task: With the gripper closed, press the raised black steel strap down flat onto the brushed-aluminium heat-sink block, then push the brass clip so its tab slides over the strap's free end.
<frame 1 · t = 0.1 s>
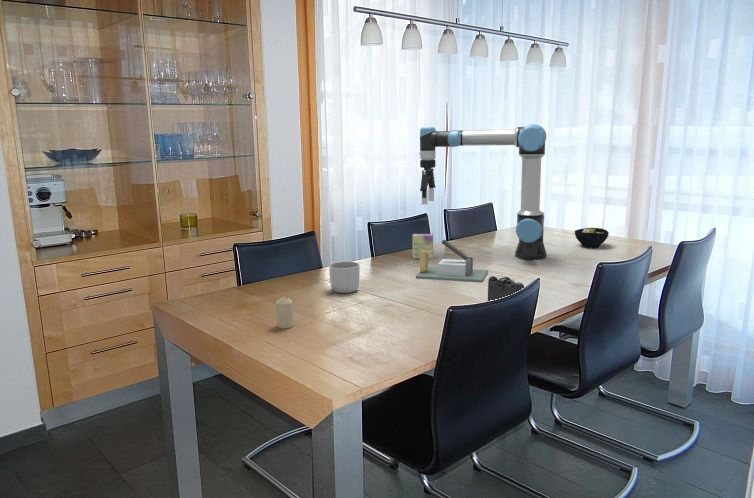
hand: (427, 202, 290), 28 cm above the table, fingers open, 13 cm apart
clip: (427, 261, 263), point 6 cm above the table, slide at 0.0 cm
sink base: (452, 275, 260), on the table
strap: (456, 251, 258), point 11 cm above the table, hinge at 35.0°
candle: (285, 326, 198), on the table
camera: (509, 303, 219), on the table
planter: (345, 291, 240), on the table
box: (423, 257, 297), on the table
bowl: (590, 247, 313), on the table
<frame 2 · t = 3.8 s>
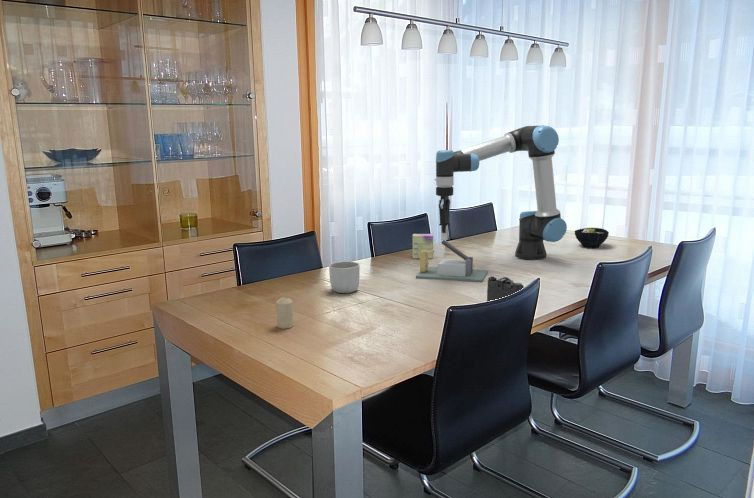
hand: (444, 239, 258), 16 cm above the table, fingers closed
strap: (456, 251, 258), point 11 cm above the table, hinge at 34.3°, touching gripper
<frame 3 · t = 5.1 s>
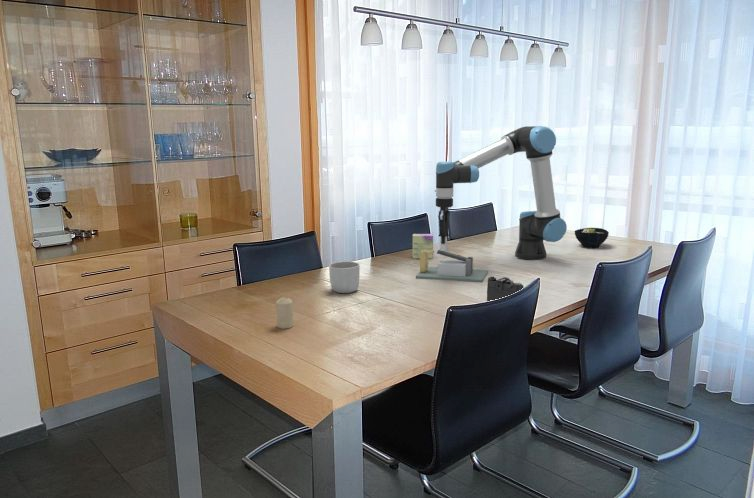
hand: (443, 250, 259), 11 cm above the table, fingers closed
strap: (454, 256, 258), point 9 cm above the table, hinge at 13.8°, touching gripper
everything else where it was.
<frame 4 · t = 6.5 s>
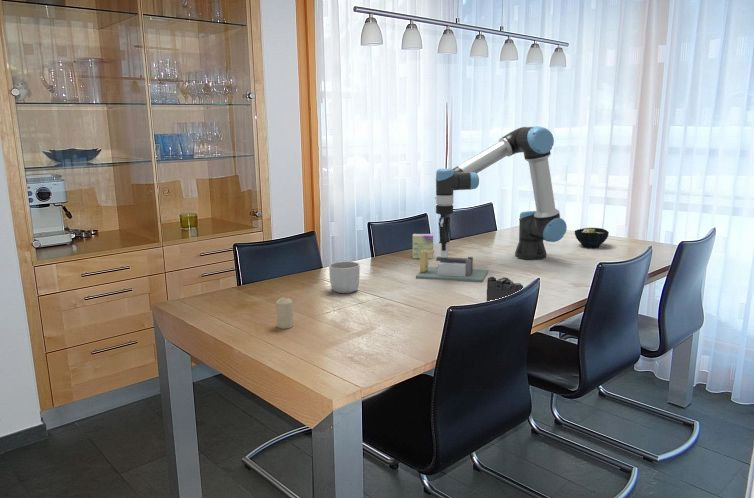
hand: (444, 257, 260), 8 cm above the table, fingers closed
strap: (453, 259, 259), point 7 cm above the table, hinge at 0.8°, touching gripper
everything else where it was.
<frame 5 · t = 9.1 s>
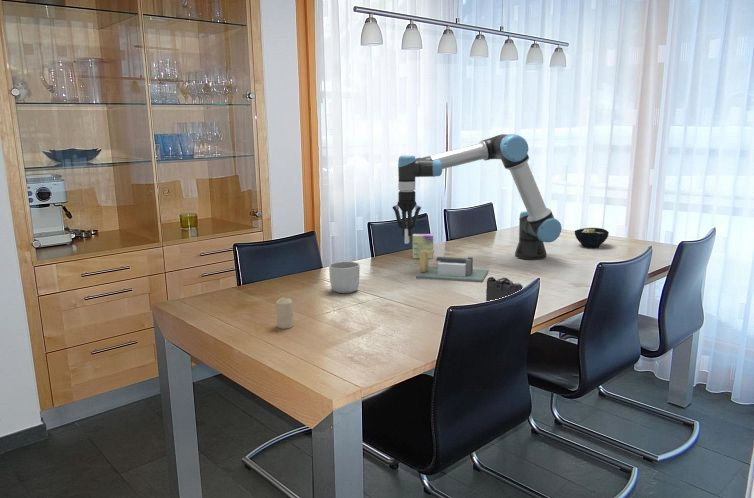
hand: (407, 243, 264), 14 cm above the table, fingers closed
strap: (453, 259, 259), point 7 cm above the table, hinge at 0.8°
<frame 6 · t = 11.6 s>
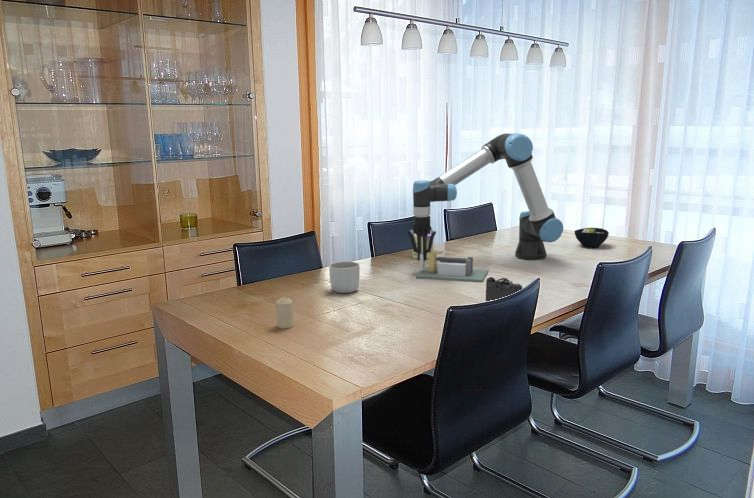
hand: (422, 267, 264), 3 cm above the table, fingers closed
clip: (436, 261, 262), point 6 cm above the table, slide at 4.0 cm, touching gripper, hand
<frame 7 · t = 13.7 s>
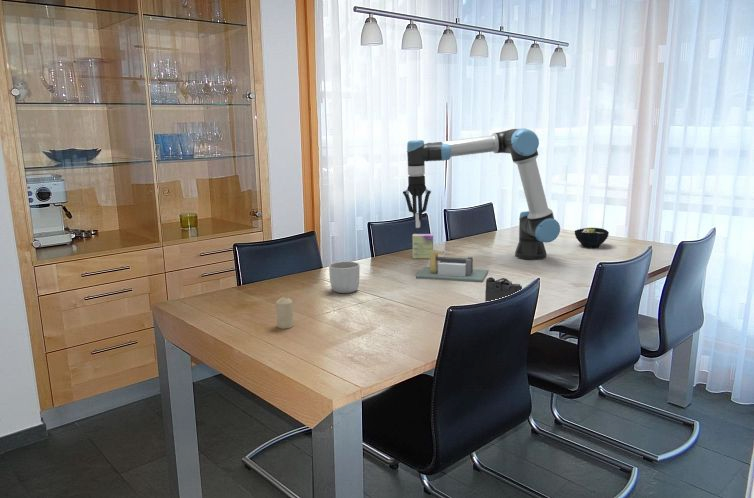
hand: (418, 227, 267), 20 cm above the table, fingers closed
clip: (437, 261, 261), point 6 cm above the table, slide at 4.7 cm
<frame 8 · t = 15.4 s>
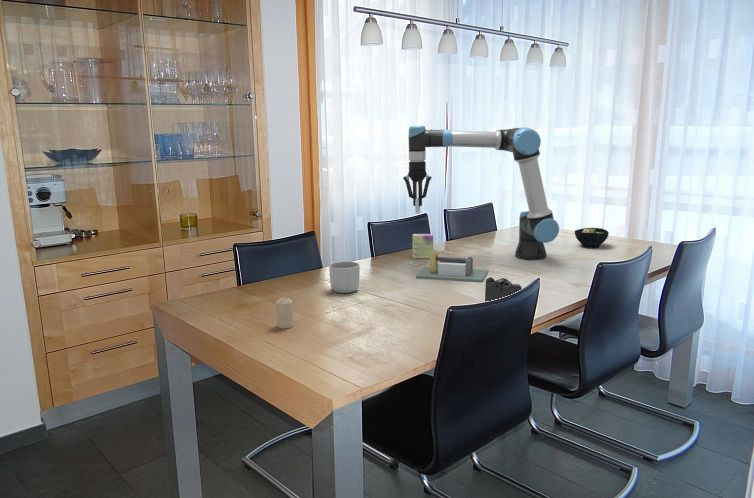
hand: (417, 213, 267), 26 cm above the table, fingers closed
at the end: strap at +1° (first picture: +35°); clip slide at 4.7 cm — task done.
